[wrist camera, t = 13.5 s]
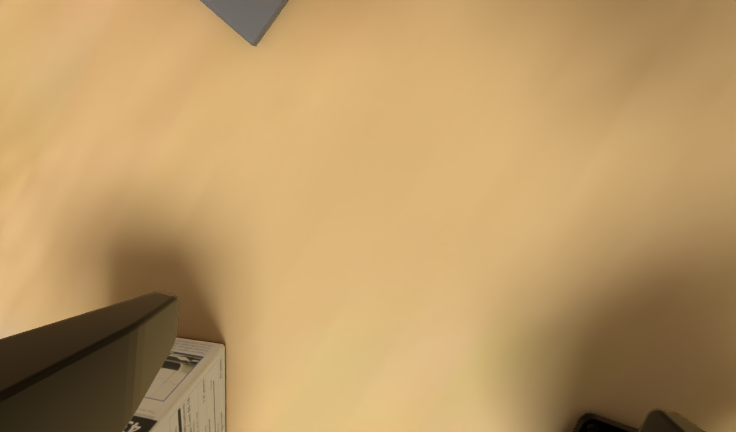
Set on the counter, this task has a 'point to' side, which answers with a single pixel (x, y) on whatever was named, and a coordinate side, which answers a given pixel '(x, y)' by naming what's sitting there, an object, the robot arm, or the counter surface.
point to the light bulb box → (185, 391)
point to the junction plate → (247, 15)
